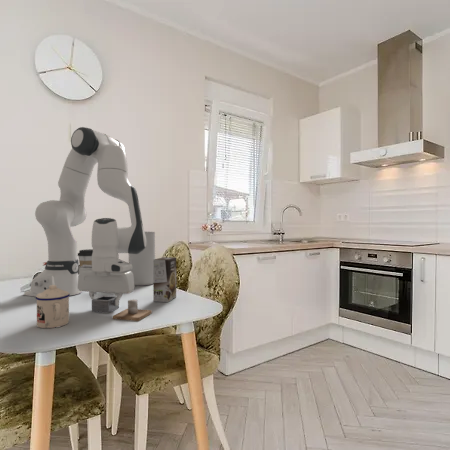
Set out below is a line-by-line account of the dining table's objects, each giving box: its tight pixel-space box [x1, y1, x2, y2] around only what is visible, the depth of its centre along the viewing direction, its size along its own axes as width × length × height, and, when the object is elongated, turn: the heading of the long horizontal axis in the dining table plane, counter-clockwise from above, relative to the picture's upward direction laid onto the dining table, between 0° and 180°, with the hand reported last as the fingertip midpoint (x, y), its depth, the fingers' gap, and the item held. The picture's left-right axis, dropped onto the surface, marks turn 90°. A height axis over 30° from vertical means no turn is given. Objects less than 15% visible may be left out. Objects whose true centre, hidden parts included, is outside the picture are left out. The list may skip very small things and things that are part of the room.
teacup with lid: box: [35, 285, 71, 329], centre depth 102 cm, size 12×9×12 cm
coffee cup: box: [77, 248, 93, 268], centre depth 182 cm, size 11×11×15 cm
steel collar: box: [91, 295, 120, 314], centre depth 119 cm, size 6×6×4 cm
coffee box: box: [152, 256, 177, 303], centre depth 135 cm, size 9×6×16 cm
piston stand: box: [112, 299, 153, 322], centre depth 112 cm, size 9×9×5 cm
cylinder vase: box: [128, 231, 156, 287], centre depth 167 cm, size 12×12×25 cm
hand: (105, 305), depth 119 cm, fingers closed on steel collar, 6 cm apart
